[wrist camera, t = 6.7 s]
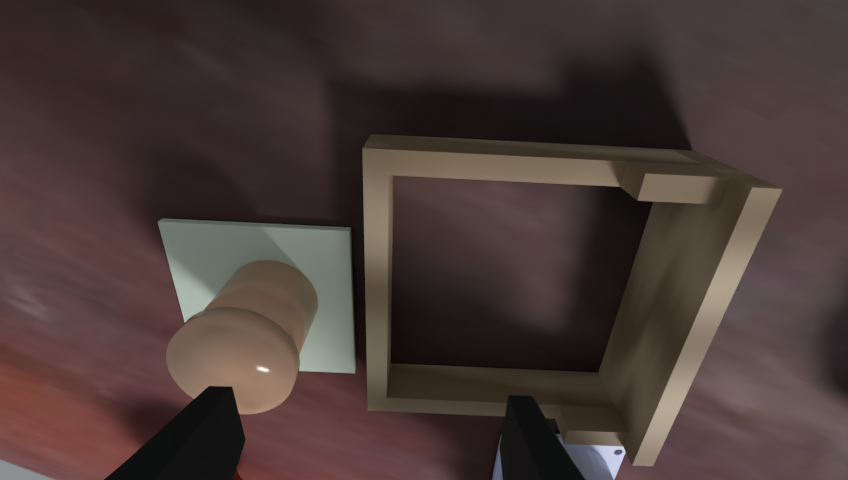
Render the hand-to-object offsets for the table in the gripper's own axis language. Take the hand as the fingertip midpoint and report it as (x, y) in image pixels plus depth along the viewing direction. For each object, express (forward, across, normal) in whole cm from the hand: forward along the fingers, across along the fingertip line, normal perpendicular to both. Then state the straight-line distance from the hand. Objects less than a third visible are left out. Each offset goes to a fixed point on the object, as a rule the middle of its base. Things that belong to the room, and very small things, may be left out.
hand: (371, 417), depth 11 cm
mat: (+10, +7, +4) cm, 13 cm away
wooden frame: (+10, -6, +2) cm, 12 cm away
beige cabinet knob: (+10, +6, +3) cm, 12 cm away
